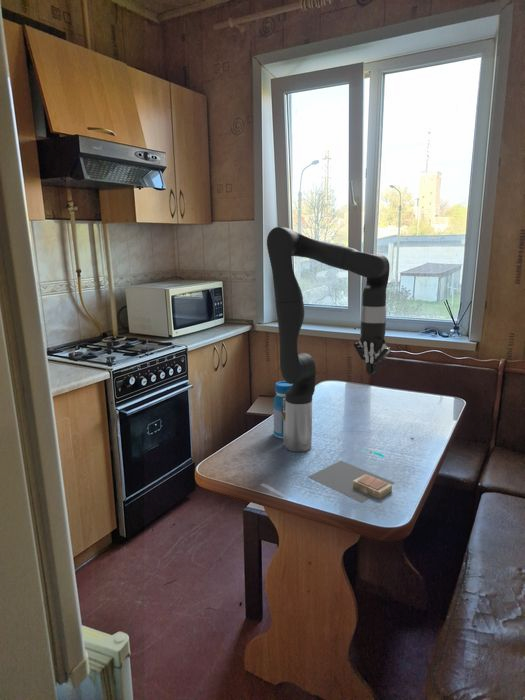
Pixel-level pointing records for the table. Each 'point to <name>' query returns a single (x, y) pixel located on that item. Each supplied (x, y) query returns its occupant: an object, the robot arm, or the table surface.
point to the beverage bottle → (280, 407)
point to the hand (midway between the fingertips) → (371, 373)
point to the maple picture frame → (372, 486)
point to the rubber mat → (345, 479)
